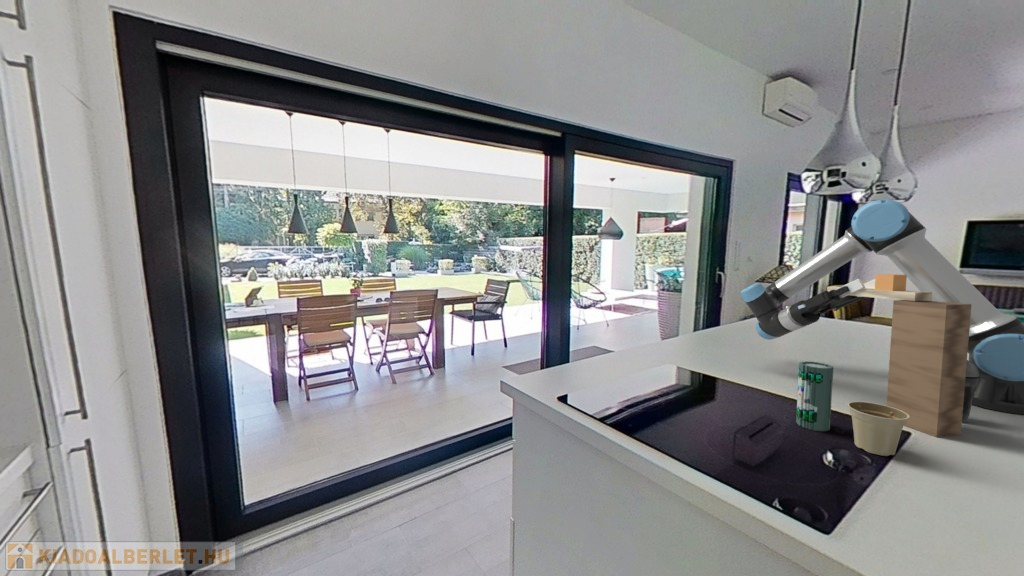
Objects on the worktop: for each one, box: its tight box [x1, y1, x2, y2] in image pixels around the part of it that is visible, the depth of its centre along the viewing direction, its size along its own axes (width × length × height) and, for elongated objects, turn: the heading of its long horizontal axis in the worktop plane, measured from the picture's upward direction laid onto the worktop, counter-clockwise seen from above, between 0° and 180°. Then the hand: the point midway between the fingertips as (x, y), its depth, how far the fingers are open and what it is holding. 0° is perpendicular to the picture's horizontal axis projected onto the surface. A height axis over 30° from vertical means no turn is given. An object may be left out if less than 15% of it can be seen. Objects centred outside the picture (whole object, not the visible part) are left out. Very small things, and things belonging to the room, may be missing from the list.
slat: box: [826, 285, 932, 301], centre depth 99 cm, size 5×21×2 cm, turn 9°
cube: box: [874, 273, 908, 291], centre depth 96 cm, size 4×4×4 cm
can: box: [795, 361, 834, 432], centre depth 90 cm, size 6×6×15 cm
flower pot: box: [847, 400, 910, 457], centre depth 79 cm, size 9×9×9 cm
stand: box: [885, 299, 972, 438], centre depth 89 cm, size 7×10×30 cm
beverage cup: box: [962, 359, 980, 424], centre depth 93 cm, size 7×7×20 cm
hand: (870, 282), depth 100 cm, fingers closed on slat, 5 cm apart
